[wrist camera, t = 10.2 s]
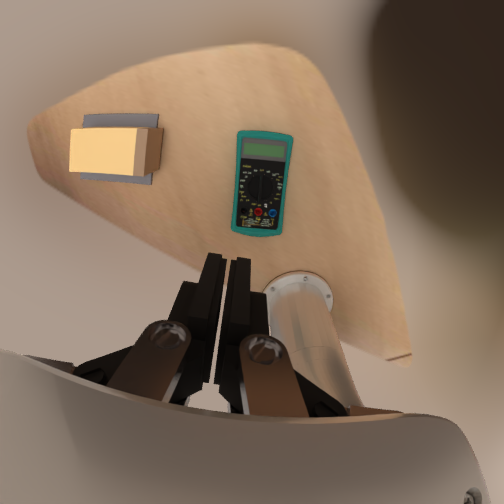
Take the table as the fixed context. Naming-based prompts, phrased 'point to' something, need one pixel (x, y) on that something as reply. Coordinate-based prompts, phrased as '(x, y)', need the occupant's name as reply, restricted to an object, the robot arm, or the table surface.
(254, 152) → the digital multimeter
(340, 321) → the table surface
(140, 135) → the ochre block
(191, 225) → the table surface
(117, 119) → the mat
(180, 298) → the robot arm
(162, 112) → the table surface
